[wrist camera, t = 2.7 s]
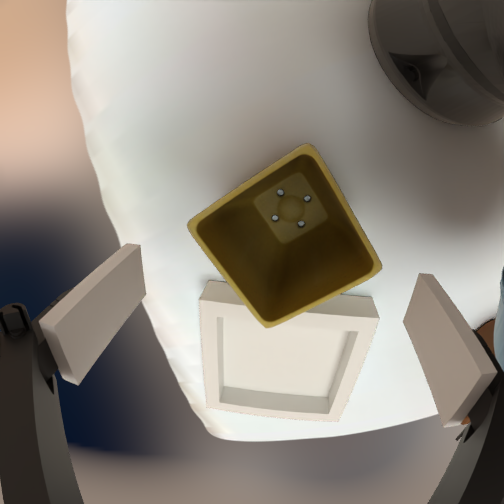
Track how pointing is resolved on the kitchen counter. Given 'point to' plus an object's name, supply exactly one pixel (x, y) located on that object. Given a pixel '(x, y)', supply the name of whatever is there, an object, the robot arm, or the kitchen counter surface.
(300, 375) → the white square tray
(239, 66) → the kitchen counter surface
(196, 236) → the flower pot
